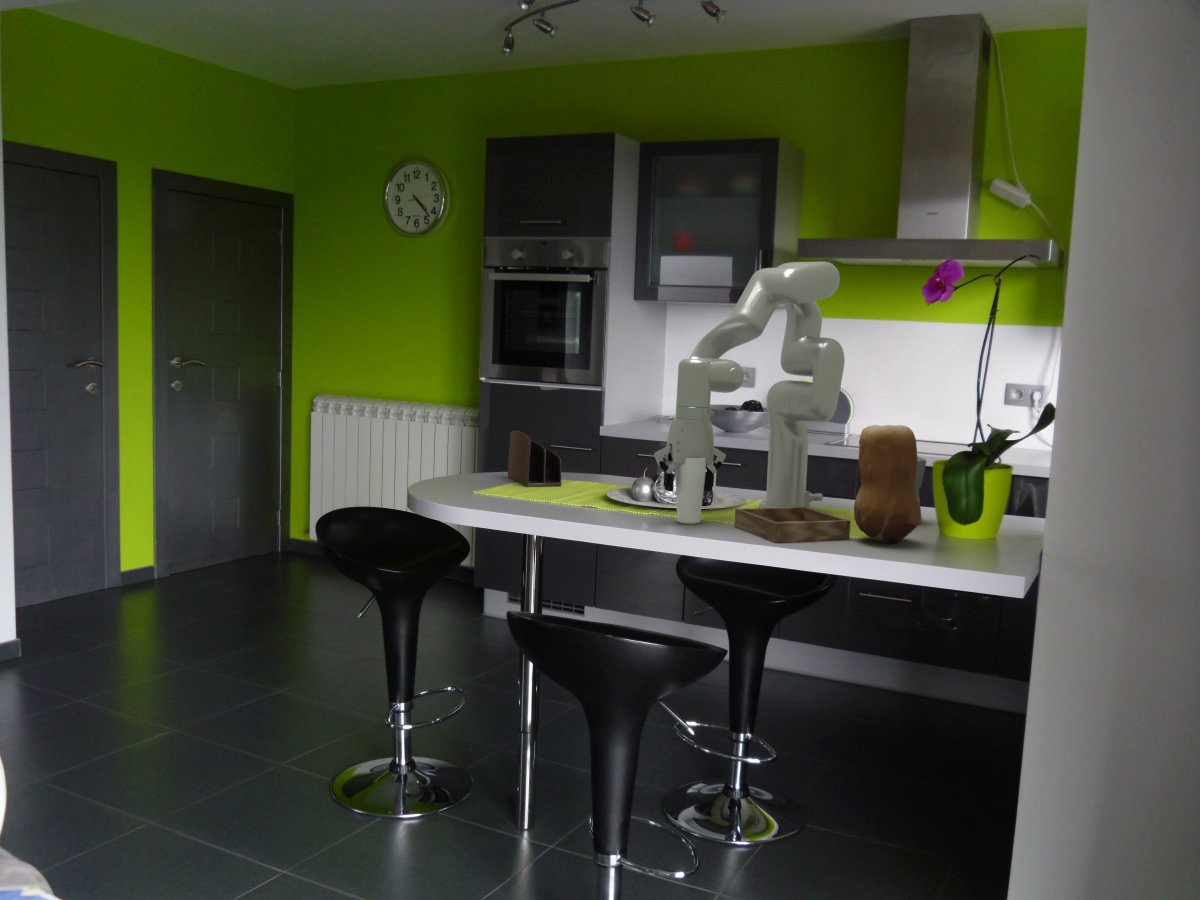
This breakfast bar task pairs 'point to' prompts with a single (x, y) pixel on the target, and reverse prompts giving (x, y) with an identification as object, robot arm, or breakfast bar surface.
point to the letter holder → (532, 462)
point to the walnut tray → (792, 524)
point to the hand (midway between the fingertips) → (688, 490)
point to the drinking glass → (690, 490)
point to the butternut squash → (887, 483)
